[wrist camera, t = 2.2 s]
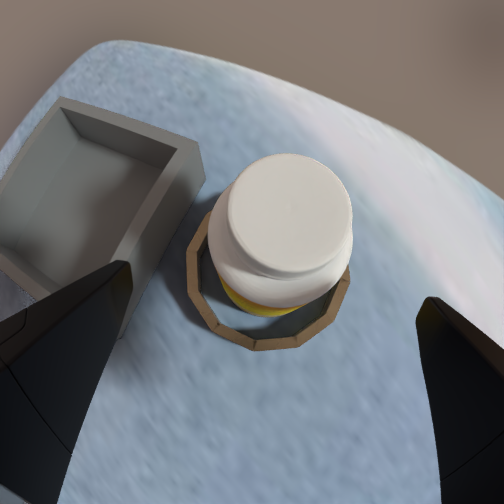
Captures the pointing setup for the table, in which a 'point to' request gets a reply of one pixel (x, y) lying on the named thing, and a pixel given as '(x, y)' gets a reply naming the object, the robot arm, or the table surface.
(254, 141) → the table surface
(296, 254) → the supplement bottle
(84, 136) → the bin
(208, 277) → the table surface
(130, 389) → the table surface
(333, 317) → the stud collar
